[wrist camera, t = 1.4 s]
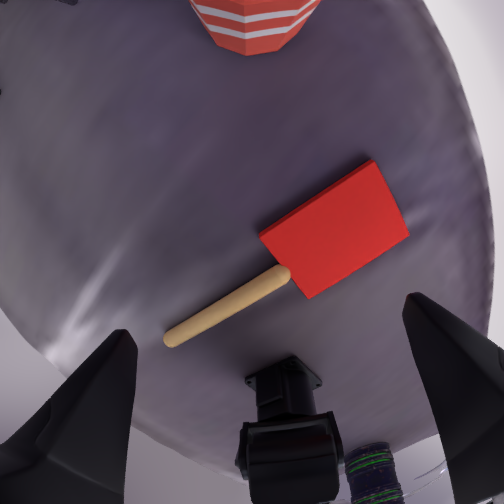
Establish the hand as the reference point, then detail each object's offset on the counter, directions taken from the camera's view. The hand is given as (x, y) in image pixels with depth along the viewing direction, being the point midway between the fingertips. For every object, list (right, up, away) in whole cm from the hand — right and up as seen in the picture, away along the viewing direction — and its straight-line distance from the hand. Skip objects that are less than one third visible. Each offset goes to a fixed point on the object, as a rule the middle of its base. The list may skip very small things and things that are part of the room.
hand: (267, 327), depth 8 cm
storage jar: (+22, -38, +36) cm, 56 cm away
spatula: (+1, +1, +15) cm, 15 cm away
